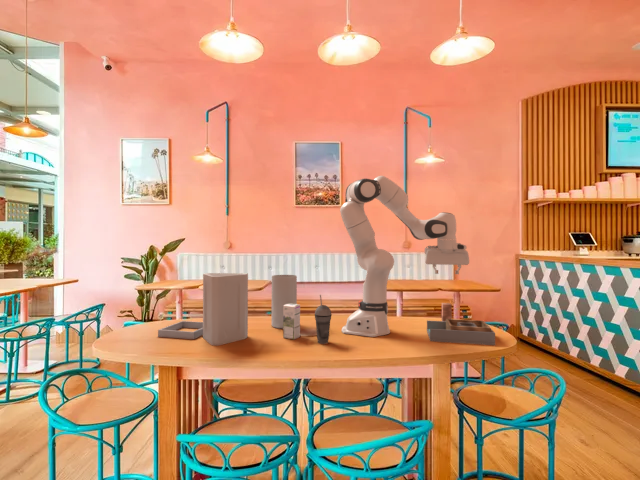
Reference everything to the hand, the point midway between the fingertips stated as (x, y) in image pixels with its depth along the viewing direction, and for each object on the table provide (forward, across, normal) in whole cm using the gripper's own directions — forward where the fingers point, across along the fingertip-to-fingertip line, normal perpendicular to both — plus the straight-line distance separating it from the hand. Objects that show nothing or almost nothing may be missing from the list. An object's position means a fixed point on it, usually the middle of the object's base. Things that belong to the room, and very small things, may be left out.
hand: (446, 273), depth 169 cm
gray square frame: (+26, -118, -37) cm, 127 cm away
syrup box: (+27, -69, -33) cm, 81 cm away
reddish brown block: (+27, 0, 0) cm, 27 cm away
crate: (+25, +6, -16) cm, 31 cm away
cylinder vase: (+27, -79, -14) cm, 85 cm away
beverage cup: (+27, -54, -37) cm, 71 cm away
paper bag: (+26, -97, -44) cm, 110 cm away
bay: (+27, +3, -16) cm, 31 cm away
